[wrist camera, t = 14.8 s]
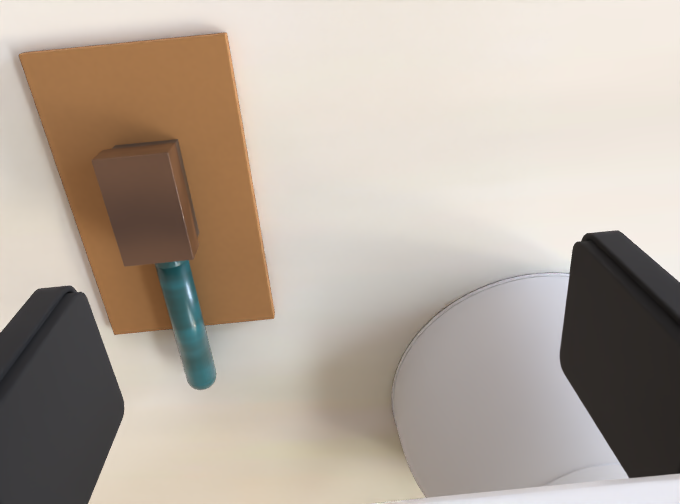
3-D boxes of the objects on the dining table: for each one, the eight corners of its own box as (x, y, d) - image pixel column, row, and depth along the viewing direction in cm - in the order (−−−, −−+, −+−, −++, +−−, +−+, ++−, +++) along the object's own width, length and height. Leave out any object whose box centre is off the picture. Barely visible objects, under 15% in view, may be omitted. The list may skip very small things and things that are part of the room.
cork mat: (24, 52, 32) (17, 54, 32) (227, 32, 32) (225, 34, 32) (117, 328, 42) (114, 335, 41) (274, 312, 42) (274, 318, 41)
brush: (110, 142, 34) (90, 160, 31) (180, 135, 34) (168, 152, 31) (178, 379, 43) (168, 411, 40) (234, 373, 43) (229, 405, 40)
